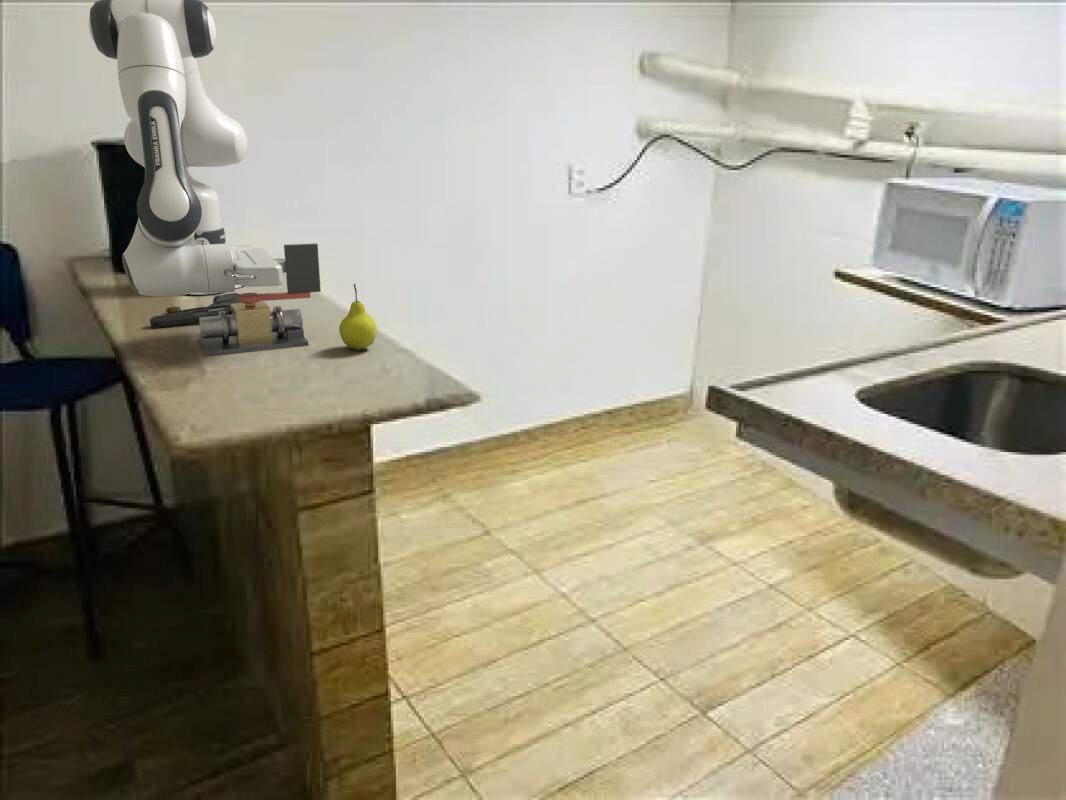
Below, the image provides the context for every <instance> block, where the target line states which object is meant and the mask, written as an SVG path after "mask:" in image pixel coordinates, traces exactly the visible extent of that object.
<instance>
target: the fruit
mask: <svg viewBox="0 0 1066 800" xmlns="http://www.w3.org/2000/svg"><path fill="white" fill-rule="evenodd" d="M353 288H354V292H355V301H352V303H351V304H350V308H349V311H348V314H347V315H346V316H345V317H344V318H343V319H342V320H341V322H340V324H339V326H338V331H339V335H340V338H341V340H342V342H343V344H345V345H346V346H347V347H348V348H350V349H351V350H353V351H354V350H355V351H362V349H363V350H365V349H367V348H368V347H370V346H372V345H373V344H374V343H375V341H376V339H377V332H378V329H377V328H378V327H377V323H376V321H375V319H373V318H372V316H370V314H368V313H367V311H366V309H365V305H364V304H363V303H362V302H361V301H358V295H357V294H358V293H357V292H358V291H357V287H356V283H353Z"/></svg>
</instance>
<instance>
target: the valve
mask: <svg viewBox="0 0 1066 800" xmlns="http://www.w3.org/2000/svg"><path fill="white" fill-rule="evenodd" d="M231 311H232V315H226V312H225V311H219V312H218V316H211V317H200V318H199V324H198V325H199V330H200V332H199V334H198V339H199V341H200V343H201V346H202V348H203V351H204V352H205V355H206V354H207V355H206V357H210V356H211V357H212V355H213V356H219V355H220V356H221V355H229V354H230V355H232V354H239V353H240V354H241V353H249V352H250V353H251V352H259V351H267V350H268V351H269V350H276V349H277V350H278V349H285V348H286V349H287V348H294V347H296V348H297V347H304V346H305V347H306V346H309V339H307V338H306V337H305V335H304V328H303V316H302V312H301V309H300V308H291V309H282V307H281V306H280V305H277V306H273V309H272V310H270V307H269V306H268V305H267V303H266V302H265V301H259V302H257V303H248V304H246V303H235V304H231Z"/></svg>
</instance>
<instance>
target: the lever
mask: <svg viewBox="0 0 1066 800" xmlns="http://www.w3.org/2000/svg"><path fill="white" fill-rule="evenodd" d="M318 245H319V244H318V243H317V242H316V243H296V244H295V243H294V244H293V243H292V244H291V243H290V244H283V250H284V251H283V252H284V259H285V265H286V272H285V277H286V278H285V279H286V289H287V291H286V292H285V291H284V292H283V291H282V292H269V293H267V292H266V293H257V292H246V293H245V292H244V293H239V294H240V295H239V302H240V303H246V304H248V303H257V302H259V301H264V302H265V301H266V302H267V301H279V300H280V301H281V300H282V301H283V300H297V299H310V298H311V297H312V296H311V293H319V292H320V293H321V291H322V290H321V277H320V276H321V275H320V262H319V261H320V260H319V248H318V247H319V246H318Z"/></svg>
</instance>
